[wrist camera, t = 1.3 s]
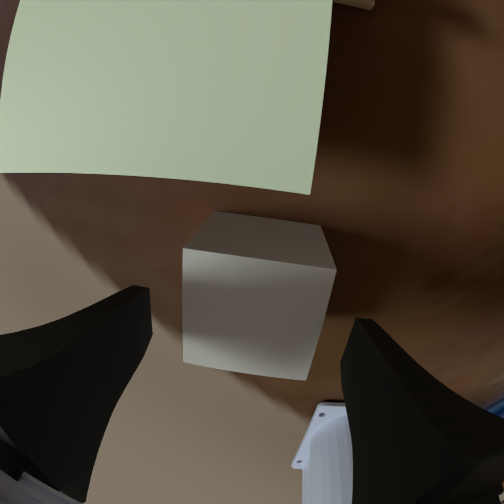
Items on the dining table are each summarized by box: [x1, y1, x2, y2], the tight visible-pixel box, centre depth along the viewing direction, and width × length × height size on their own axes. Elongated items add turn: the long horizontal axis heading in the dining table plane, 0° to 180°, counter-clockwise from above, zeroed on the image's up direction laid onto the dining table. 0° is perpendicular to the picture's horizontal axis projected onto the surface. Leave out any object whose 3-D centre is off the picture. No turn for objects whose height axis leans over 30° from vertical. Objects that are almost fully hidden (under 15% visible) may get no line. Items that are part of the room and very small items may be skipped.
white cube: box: [182, 211, 337, 380], centre depth 13 cm, size 5×5×5 cm
